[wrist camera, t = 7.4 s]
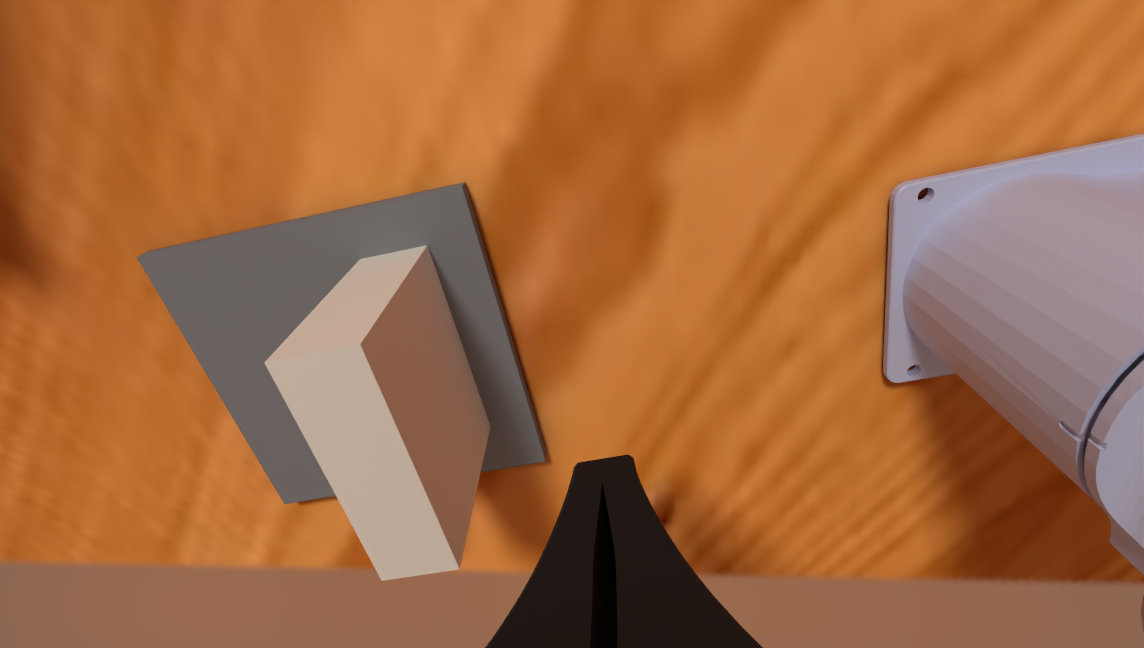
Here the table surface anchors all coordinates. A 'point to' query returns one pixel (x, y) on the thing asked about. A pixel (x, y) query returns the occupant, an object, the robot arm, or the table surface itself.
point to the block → (390, 411)
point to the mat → (301, 281)
